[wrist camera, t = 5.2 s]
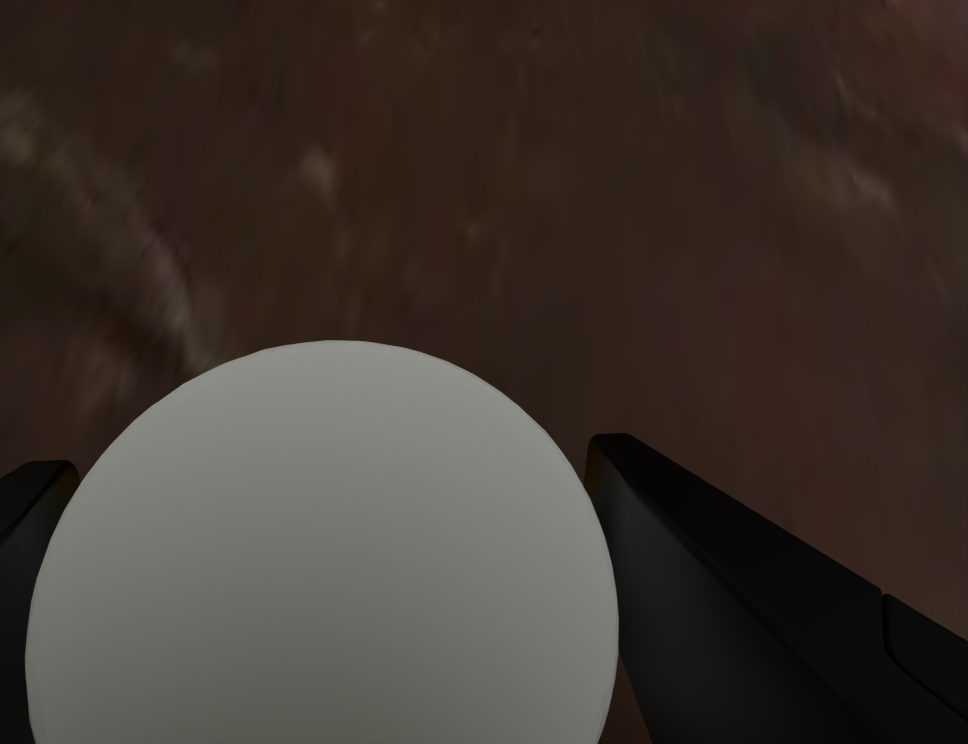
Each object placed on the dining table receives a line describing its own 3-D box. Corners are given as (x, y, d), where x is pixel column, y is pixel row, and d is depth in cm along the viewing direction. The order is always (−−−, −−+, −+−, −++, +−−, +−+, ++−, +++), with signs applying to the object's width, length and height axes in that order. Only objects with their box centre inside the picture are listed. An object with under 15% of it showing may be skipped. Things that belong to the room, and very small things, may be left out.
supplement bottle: (172, 519, 15) (-180, 367, 5) (449, 426, 16) (553, 170, 6) (255, 824, 13) (-14, 1315, 4) (548, 701, 15) (849, 863, 5)
